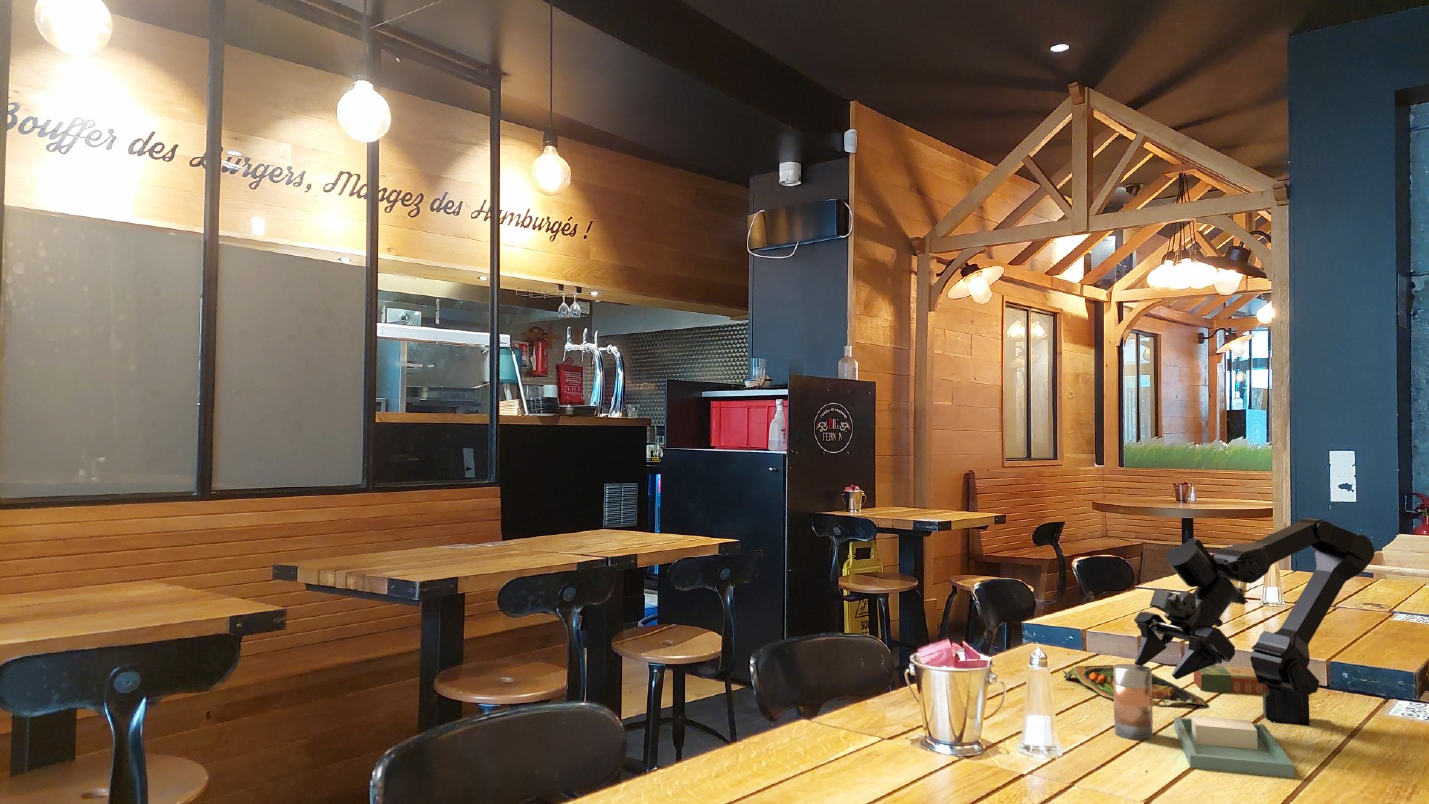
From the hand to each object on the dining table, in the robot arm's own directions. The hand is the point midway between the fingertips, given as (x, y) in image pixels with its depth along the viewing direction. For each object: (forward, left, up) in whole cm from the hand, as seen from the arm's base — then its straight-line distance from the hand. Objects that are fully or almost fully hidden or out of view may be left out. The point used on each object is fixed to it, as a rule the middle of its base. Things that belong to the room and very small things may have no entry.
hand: (1155, 671), depth 166 cm
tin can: (+4, +3, -11) cm, 12 cm away
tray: (-10, +7, -11) cm, 17 cm away
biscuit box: (-10, +2, -10) cm, 15 cm away
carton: (-19, -40, -12) cm, 46 cm away
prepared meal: (+2, -32, -12) cm, 34 cm away
